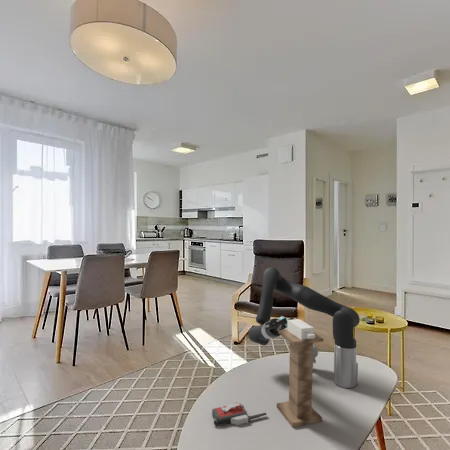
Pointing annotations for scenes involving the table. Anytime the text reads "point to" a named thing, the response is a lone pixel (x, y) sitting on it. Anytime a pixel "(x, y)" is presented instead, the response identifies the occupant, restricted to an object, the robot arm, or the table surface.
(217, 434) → the table surface
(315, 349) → the figurine
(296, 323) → the white block with ball
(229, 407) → the walkie-talkie
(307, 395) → the stand
